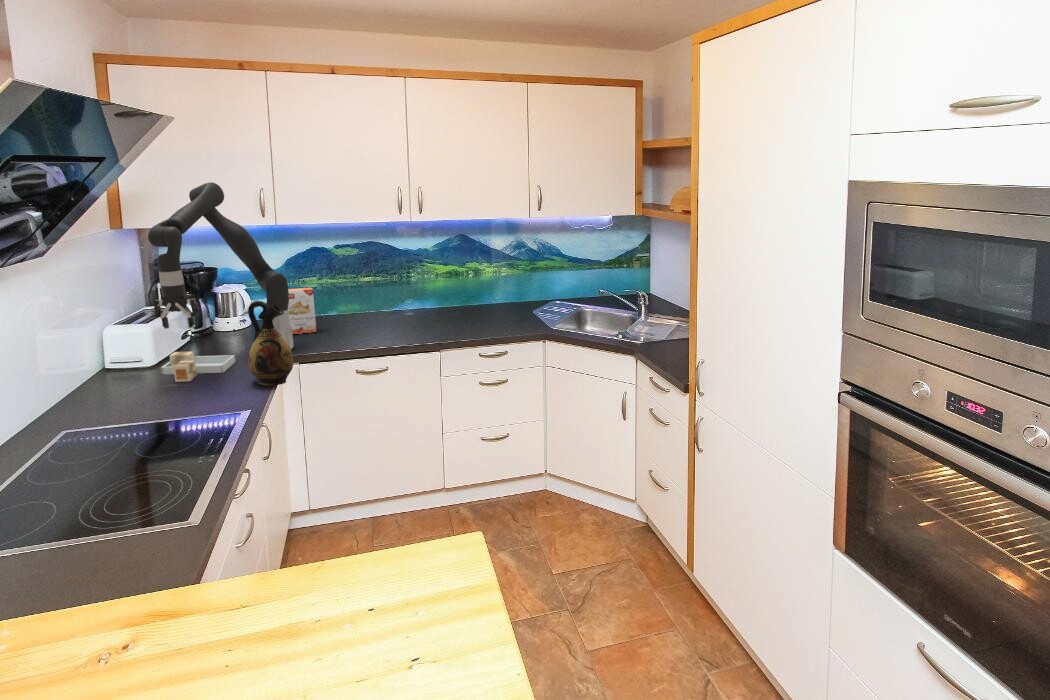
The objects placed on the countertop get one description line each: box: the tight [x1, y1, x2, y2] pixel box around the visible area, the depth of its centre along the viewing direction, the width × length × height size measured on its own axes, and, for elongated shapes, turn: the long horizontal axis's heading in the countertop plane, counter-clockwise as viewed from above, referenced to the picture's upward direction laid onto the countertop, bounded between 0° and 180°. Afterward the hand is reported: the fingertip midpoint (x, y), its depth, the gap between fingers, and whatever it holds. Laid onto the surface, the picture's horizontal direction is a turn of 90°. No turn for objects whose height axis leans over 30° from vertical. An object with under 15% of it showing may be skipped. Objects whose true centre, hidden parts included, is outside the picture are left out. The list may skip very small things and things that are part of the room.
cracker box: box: [288, 287, 317, 336], centre depth 322 cm, size 14×6×21 cm, turn 114°
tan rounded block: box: [169, 351, 195, 367], centre depth 268 cm, size 7×5×6 cm
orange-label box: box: [173, 361, 198, 383], centre depth 256 cm, size 7×5×6 cm
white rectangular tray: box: [160, 354, 237, 376], centre depth 269 cm, size 23×15×4 cm, turn 95°
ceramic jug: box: [247, 300, 294, 387], centre depth 250 cm, size 17×15×30 cm
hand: (179, 327), depth 251 cm, fingers open, 8 cm apart
